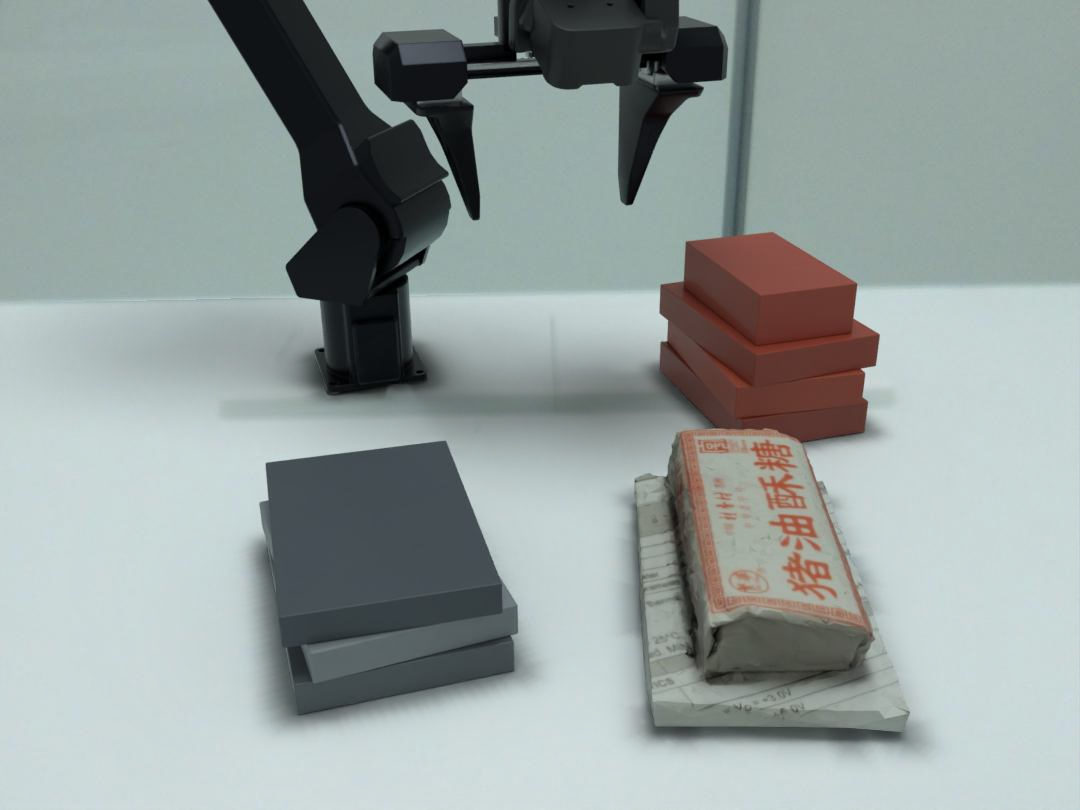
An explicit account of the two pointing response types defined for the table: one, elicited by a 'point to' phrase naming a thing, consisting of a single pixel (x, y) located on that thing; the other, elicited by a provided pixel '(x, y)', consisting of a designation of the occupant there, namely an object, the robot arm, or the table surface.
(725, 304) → the rust red block
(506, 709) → the table surface
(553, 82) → the robot arm
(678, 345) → the rust book pile
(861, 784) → the table surface
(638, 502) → the packaged product
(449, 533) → the grey book pile
